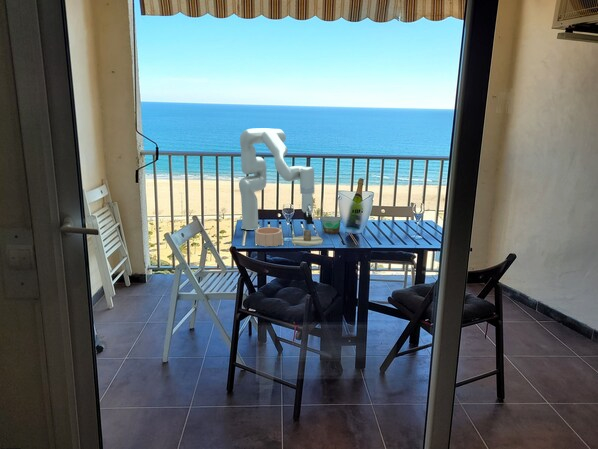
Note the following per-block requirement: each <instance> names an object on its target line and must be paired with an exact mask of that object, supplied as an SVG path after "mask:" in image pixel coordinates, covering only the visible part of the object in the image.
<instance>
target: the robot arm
mask: <svg viewBox="0 0 598 449" xmlns="http://www.w3.org/2000/svg"><path fill="white" fill-rule="evenodd" d="M286 137H287V135H286V134H285V132H284V131H283V130H282V129H281V128H268V127H267V128H266V127H261V128H260V127H259V128H256V127H255V128H247V129H244V130H243V131H242V132H241V134H240V137H239V146H240V157H241V158H240V166H241V167H240V168H241V172H242V173H243V174H244V175H249V176H244V177H242V178H241V179H240V180H239V181H238V188H239V191H240V196H241V198H240V200H241V201H240V202H241V219H242V220H241V221H242V222H241V223H242V224H241V226H242V227H241V228H242V229H246V230H253V229H258V227H259V228H260V227H261V228H262V226H261V225H260V224H259V208H258V204H259V203H258V197H257V195H256V193H255V192H260V191H263V190H264V189H265V188H266V186H267V163H266V160H265V159H264V158H263V157H261V156H256V153H257V150H256V147H255V145H256V144H258V145H259V144H264V145H265V146H266V148H267V149H268V150H269V152H270V153H271V154H272V156H273V157H274V167H275V169H276V170H275V171H277V173H278V174H279V175H280V177H281V178H282V179H283V180H284V181H285V182H294V181H299V191H300V193H299V194H300V195H301V211H302V212H303V220H304V221H305V222H306V225H313V211H314V198H313V195H314V194H315V169H314V167H312V166H304V165H293V166H288V164H287V163H286V161H285V158H284V157H285V156H286V155H287V154H288V147H287V146H286V145H285V141H286V140H287V139H286ZM252 174H253V175H252Z"/></svg>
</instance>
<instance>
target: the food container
mask: <svg viewBox="0 0 598 449" xmlns="http://www.w3.org/2000/svg"><path fill="white" fill-rule="evenodd" d="M320 220H321V222H322V230H323V231H322V232H323V233H324V234H327V235H337V234H339V233H340V229H341V228H340V227H341V220H343V218H342V215H339V216H333V215H330V216H329V215H328V216H323V215H321V217H320Z"/></svg>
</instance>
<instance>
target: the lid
mask: <svg viewBox="0 0 598 449" xmlns="http://www.w3.org/2000/svg"><path fill="white" fill-rule="evenodd" d="M323 242H324V239H323V238H322V237H320V236H316V235H312V231H311V230H309V229H305V230H303V235H299V236H295V237H293V238H291V243H292V244H294V245H296V246H299V247H314V246H319V245H322V244H323Z"/></svg>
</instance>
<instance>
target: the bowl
mask: <svg viewBox="0 0 598 449" xmlns="http://www.w3.org/2000/svg"><path fill="white" fill-rule="evenodd" d="M254 234H255V235H254V236H255V239H254V241H255V242H256V243H255V242H254V243H255V245H256V244H258V245H262V246H275V247H278V245H279V246H281V245H282V244H283V230H282V229H281V228H279V227H272V226H268V227H267V226H266V227H265V226H263V227H261V228H259V229H257V230H254Z"/></svg>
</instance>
